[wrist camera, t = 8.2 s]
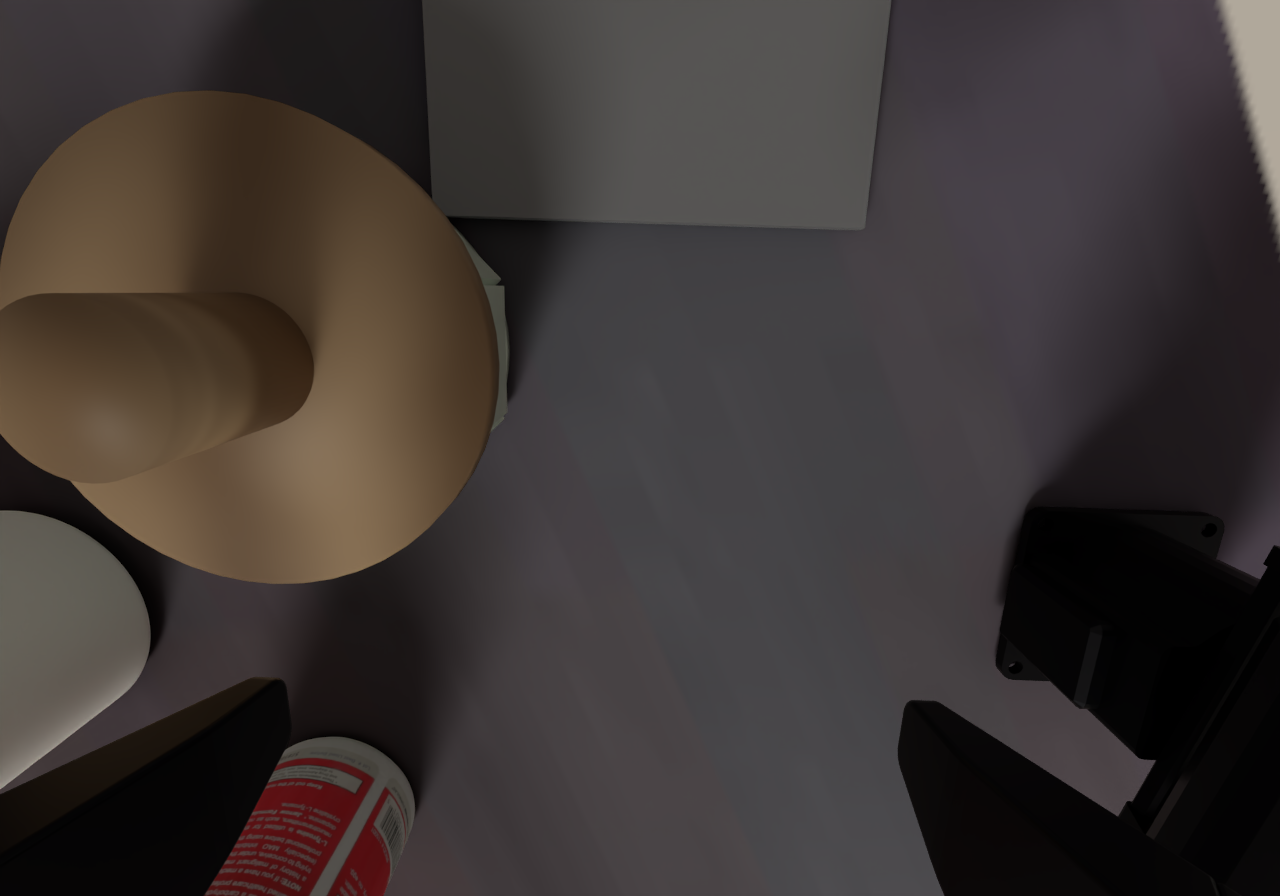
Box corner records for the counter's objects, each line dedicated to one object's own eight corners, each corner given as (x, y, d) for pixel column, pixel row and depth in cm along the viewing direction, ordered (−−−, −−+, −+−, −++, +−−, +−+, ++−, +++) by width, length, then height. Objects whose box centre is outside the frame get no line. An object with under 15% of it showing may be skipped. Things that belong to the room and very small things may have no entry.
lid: (492, 110, 14) (395, 0, 9) (506, 573, 17) (440, 703, 12) (-11, 97, 14) (-413, -21, 9) (90, 561, 17) (-166, 684, 12)
